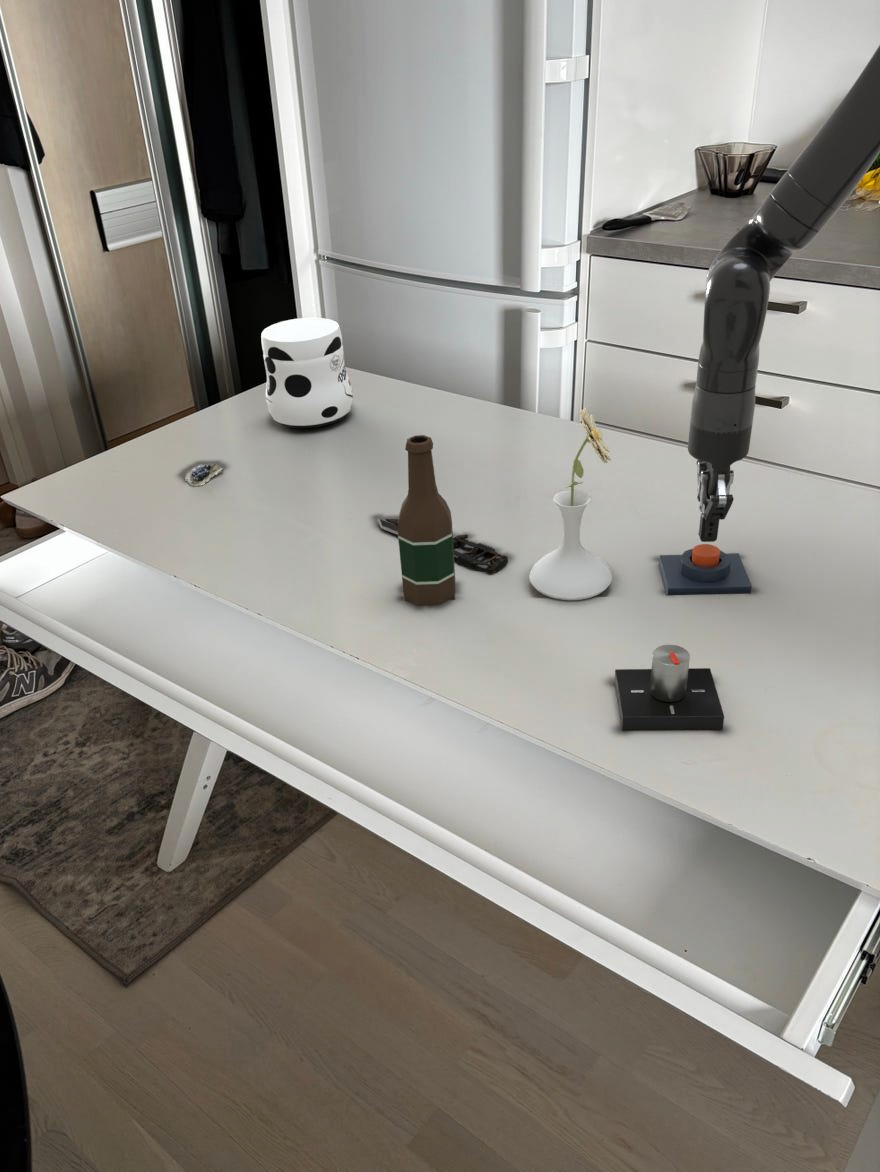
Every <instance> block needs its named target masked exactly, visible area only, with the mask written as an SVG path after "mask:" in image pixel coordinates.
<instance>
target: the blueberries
mask: <svg viewBox="0 0 880 1172" xmlns="http://www.w3.org/2000/svg"><path fill="white" fill-rule="evenodd" d="M222 472H224V468H223V467H221V466H220V465H219V464H217V463H206V464H204V463H201V464H199V465H197V466H195V467H193V468H192V469H191V470H190V471H189V472H188V473H187V474H185V477H184V480H185V481H184V482H187V484H188V485H189V486H191V487H201V486H204V485H205V484H206V483H208V482H209V481H210V480H211V478H214V476H217V475H218V474H219V473H222Z"/></svg>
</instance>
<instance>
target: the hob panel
mask: <svg viewBox="0 0 880 1172" xmlns="http://www.w3.org/2000/svg"><path fill="white" fill-rule="evenodd" d="M651 670H652V668H624V669H623V668H622V669H619V668H618V669H615V670H614V690H615V696H616V701H617V703H616V704H617V708H618V709H617V710H618V714H619V720H620V727H621V731H622V732H654V731H655V732H660V731H661V732H662V731H664V732H665V731H666V732H671V731H672V732H677V731H679V732H680V731H681V732H682V731H685V732H686V731H694V732H695V731H723V730H724V729H723V728H724V722H725V715H724V710H723V706H722V704H721V701H720V697H719V693H718V691H717V686H716V683H715V680H714V677H713V674H712V671H711V668H710V667H702V668H701V667H699V668H697V667H696V668H695V667H694V668H690V667H689V669H688V679H687V688H686V695H685V697H684V698H683V699H681V700H679V701H676V702H663V701H660V700H658V699H656V698H654V697H653V696H652V695H651V693H650V682H651Z"/></svg>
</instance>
